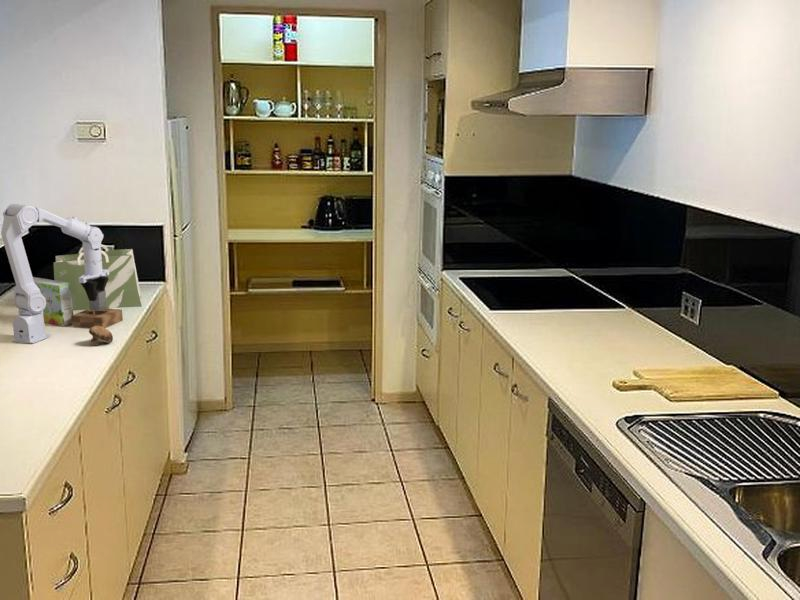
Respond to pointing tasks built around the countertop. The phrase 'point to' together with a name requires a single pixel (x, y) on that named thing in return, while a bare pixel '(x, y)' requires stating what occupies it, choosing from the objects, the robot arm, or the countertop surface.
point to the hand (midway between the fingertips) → (96, 299)
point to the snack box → (56, 301)
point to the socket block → (97, 318)
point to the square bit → (98, 301)
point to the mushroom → (100, 335)
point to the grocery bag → (121, 276)
